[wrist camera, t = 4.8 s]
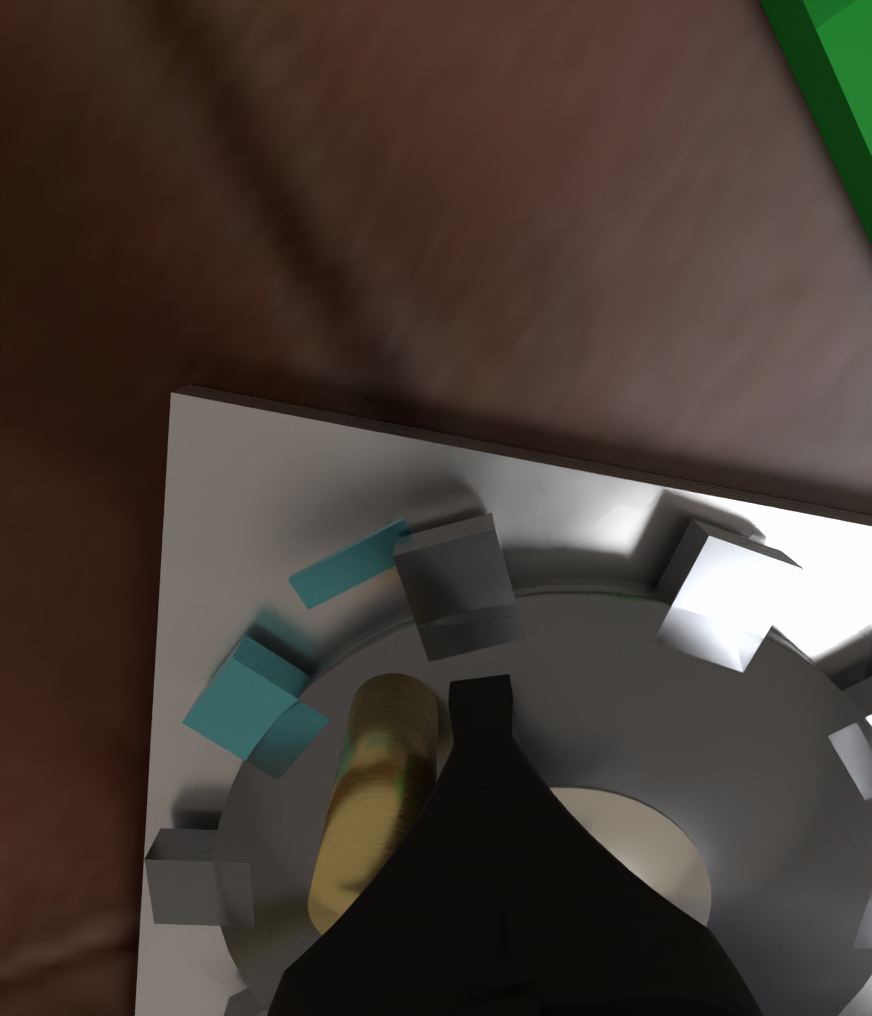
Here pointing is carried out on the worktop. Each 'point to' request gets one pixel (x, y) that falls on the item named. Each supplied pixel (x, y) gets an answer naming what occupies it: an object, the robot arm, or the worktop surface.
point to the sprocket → (553, 758)
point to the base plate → (378, 588)
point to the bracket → (834, 81)
